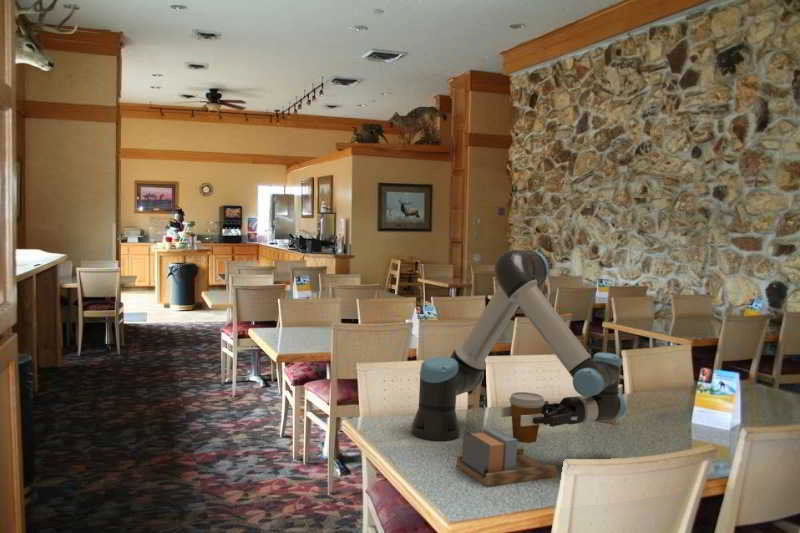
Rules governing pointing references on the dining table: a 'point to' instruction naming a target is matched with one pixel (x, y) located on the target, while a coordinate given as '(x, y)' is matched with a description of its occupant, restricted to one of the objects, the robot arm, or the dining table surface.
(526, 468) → the wooden serving tray
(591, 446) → the dining table surface
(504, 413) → the robot arm
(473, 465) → the bookend
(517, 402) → the disposable coffee cup
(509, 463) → the books
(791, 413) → the dining table surface
